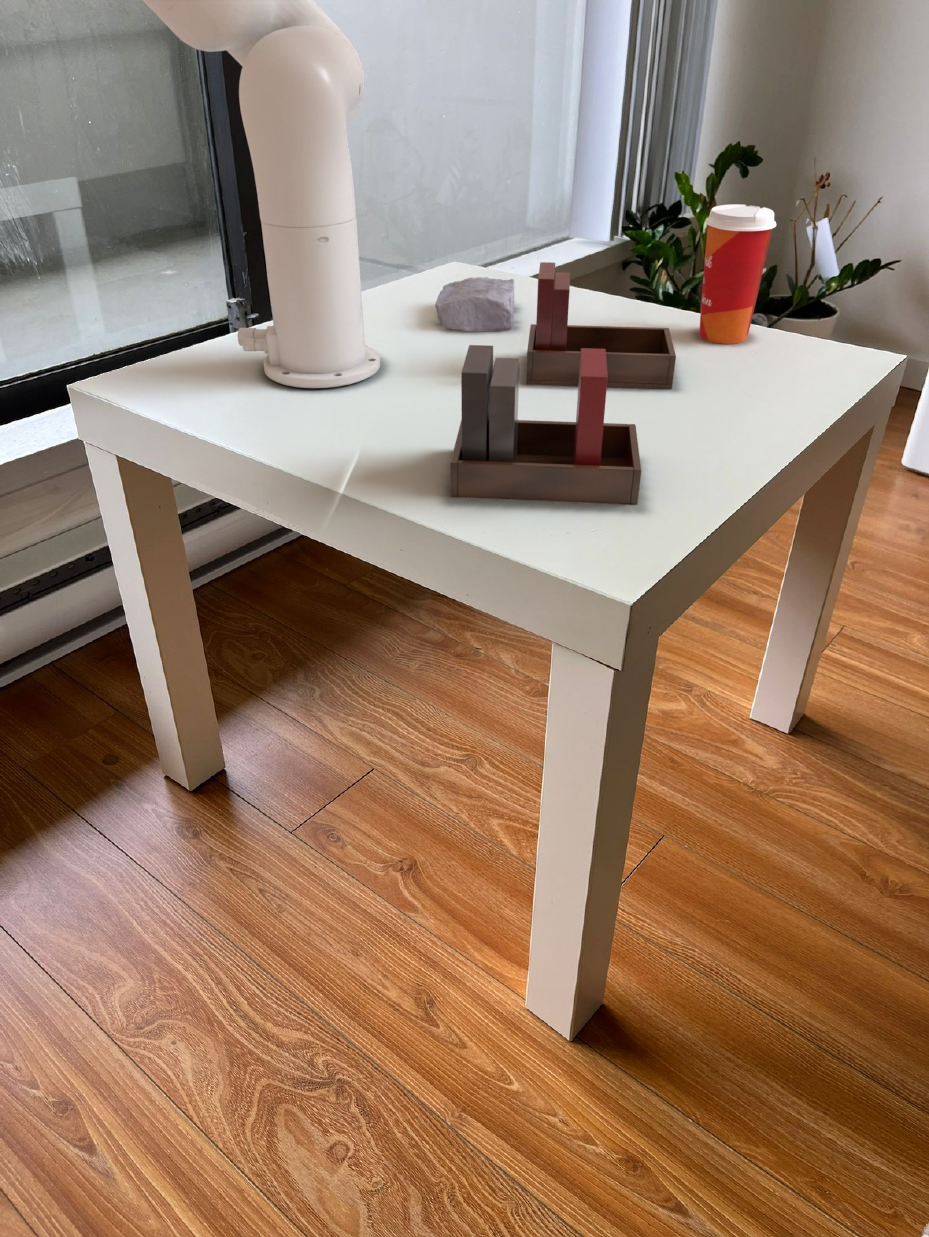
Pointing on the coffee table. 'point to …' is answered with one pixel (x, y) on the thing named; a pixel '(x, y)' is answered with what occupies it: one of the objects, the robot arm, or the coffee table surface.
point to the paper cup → (733, 270)
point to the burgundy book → (590, 407)
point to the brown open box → (592, 343)
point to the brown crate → (531, 446)
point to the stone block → (477, 304)
